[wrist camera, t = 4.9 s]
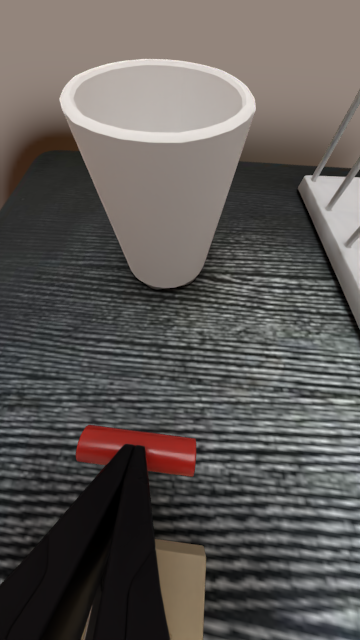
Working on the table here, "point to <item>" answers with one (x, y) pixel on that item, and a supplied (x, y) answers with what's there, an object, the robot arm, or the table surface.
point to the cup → (160, 156)
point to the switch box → (181, 588)
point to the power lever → (160, 456)
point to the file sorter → (338, 218)
